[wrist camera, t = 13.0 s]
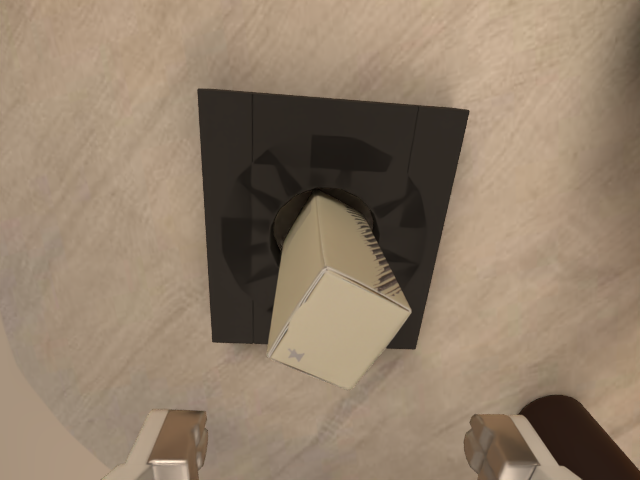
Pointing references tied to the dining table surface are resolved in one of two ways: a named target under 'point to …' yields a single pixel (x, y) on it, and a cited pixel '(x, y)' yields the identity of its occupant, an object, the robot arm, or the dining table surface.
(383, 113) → the pad
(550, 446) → the bottle
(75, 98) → the dining table surface
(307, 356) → the box
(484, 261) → the dining table surface
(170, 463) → the robot arm
